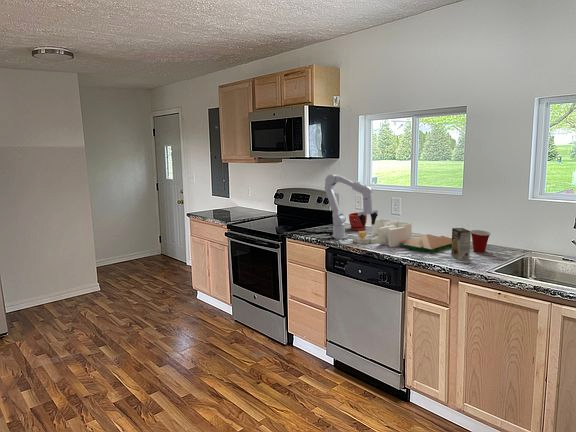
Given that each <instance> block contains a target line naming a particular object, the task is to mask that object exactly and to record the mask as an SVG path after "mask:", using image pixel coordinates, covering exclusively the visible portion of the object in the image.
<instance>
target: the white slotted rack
mask: <svg viewBox="0 0 576 432" xmlns="http://www.w3.org/2000/svg"><path fill="white" fill-rule="evenodd" d="M412 224H413V223H411V222H406V221H399V220H397V221H395V220H394V219H385V218H378V219H376V220H375V224H374V225H373V224H372V220H371V221H370V225H371V226H370V230H371V231H370V232H371V233H370V234H371V235H370V236H371V237H373V236H374V237H375V236H378V229H379V228H381V227H386V226H392V225H393V226H396V227H397V228H400V227H405V228H406V240H410V239H412V227H413V226H412Z"/></svg>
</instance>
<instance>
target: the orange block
mask: <svg viewBox="0 0 576 432" xmlns="http://www.w3.org/2000/svg"><path fill="white" fill-rule="evenodd" d="M357 232H358V233H357V234H358V235H357V237H359V238H362V239H364V237H367V232H366V231H365V230H361V231H360V230H358V231H357Z"/></svg>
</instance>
